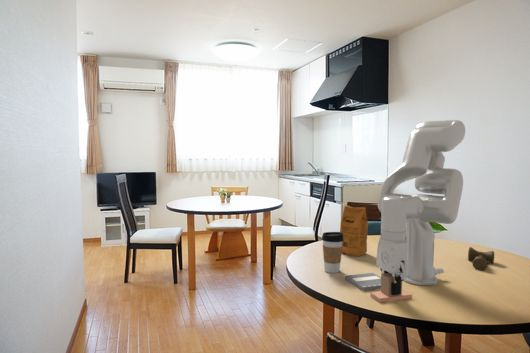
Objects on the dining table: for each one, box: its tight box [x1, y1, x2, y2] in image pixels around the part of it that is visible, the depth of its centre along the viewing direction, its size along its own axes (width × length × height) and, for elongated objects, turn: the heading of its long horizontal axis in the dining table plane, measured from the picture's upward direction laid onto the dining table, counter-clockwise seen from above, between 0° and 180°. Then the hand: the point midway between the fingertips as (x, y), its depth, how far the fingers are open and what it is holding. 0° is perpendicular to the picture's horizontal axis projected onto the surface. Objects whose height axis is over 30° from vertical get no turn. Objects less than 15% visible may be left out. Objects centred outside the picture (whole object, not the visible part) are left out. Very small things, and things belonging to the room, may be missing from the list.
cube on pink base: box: [370, 273, 413, 303], centre depth 114 cm, size 12×5×7 cm, turn 107°
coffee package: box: [339, 204, 369, 257], centre depth 164 cm, size 10×12×22 cm
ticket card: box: [344, 272, 381, 292], centre depth 126 cm, size 12×12×1 cm
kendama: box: [467, 246, 495, 271], centre depth 150 cm, size 6×10×20 cm
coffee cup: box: [321, 231, 344, 274], centre depth 139 cm, size 8×8×15 cm
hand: (391, 291), depth 114 cm, fingers closed on cube on pink base, 4 cm apart
